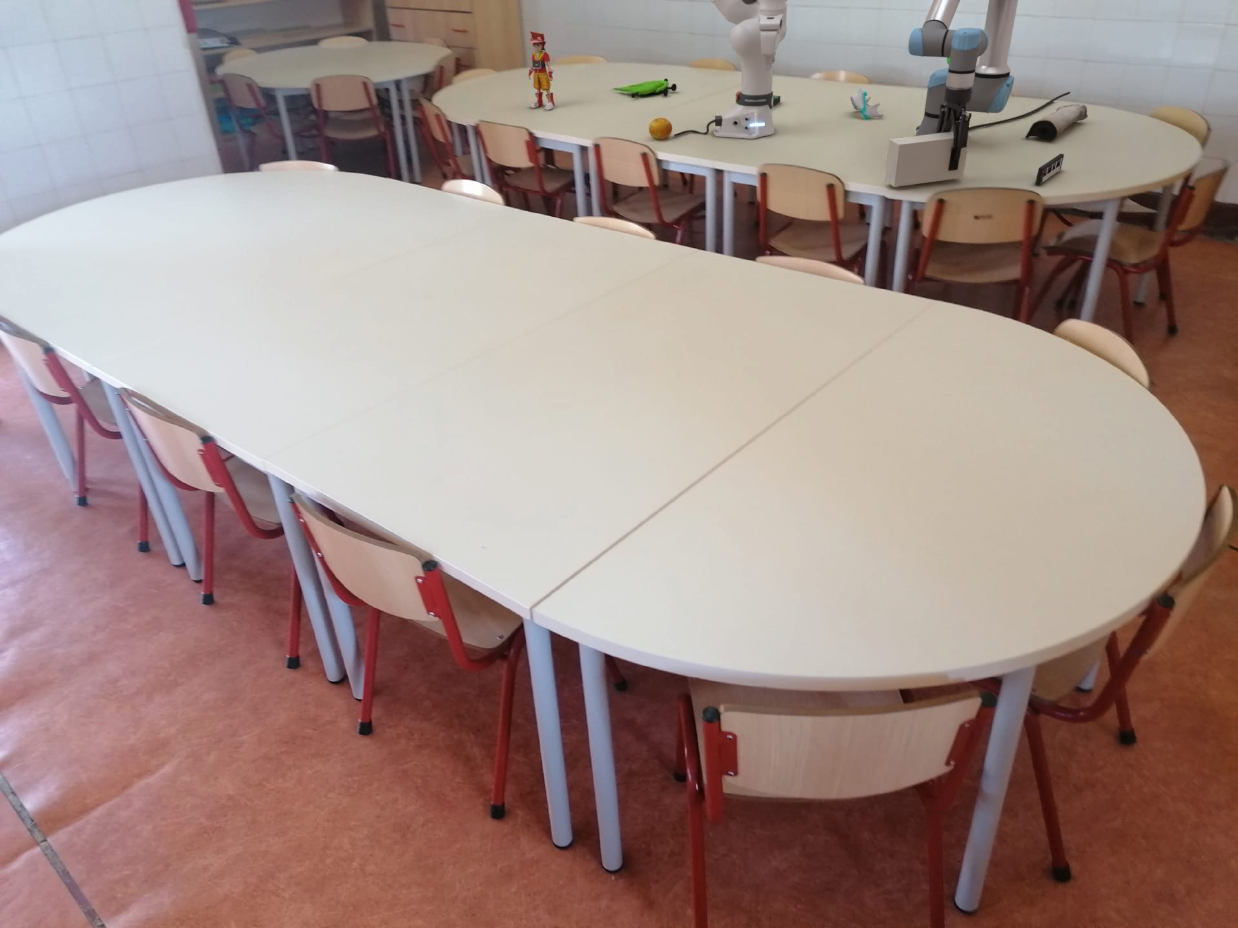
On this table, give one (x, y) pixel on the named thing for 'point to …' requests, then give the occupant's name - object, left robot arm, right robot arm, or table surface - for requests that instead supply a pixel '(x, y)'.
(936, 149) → the box
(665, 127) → the fruit
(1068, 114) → the rolled mat
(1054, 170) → the midi keyboard
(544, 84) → the toy
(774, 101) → the disk drive
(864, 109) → the anatomical model
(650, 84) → the toy
